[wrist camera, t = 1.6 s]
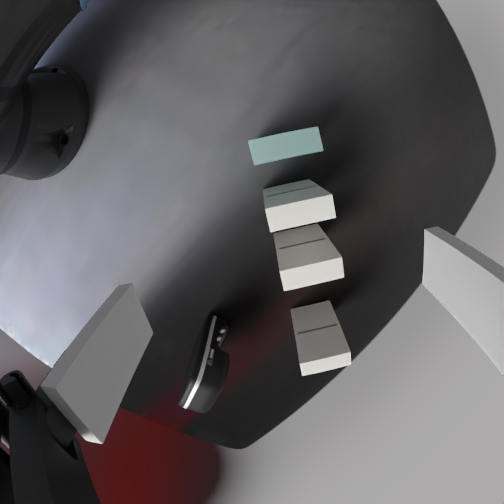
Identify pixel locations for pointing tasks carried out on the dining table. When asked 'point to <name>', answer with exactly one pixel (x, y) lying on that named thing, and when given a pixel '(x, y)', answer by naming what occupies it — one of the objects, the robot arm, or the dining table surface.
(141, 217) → the dining table surface
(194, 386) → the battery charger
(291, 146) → the domino
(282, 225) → the domino
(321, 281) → the domino
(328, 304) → the end domino
